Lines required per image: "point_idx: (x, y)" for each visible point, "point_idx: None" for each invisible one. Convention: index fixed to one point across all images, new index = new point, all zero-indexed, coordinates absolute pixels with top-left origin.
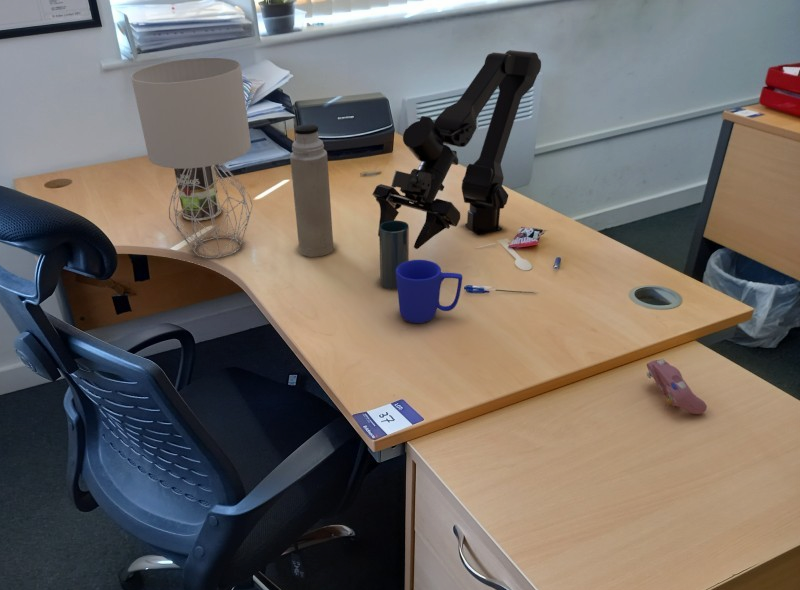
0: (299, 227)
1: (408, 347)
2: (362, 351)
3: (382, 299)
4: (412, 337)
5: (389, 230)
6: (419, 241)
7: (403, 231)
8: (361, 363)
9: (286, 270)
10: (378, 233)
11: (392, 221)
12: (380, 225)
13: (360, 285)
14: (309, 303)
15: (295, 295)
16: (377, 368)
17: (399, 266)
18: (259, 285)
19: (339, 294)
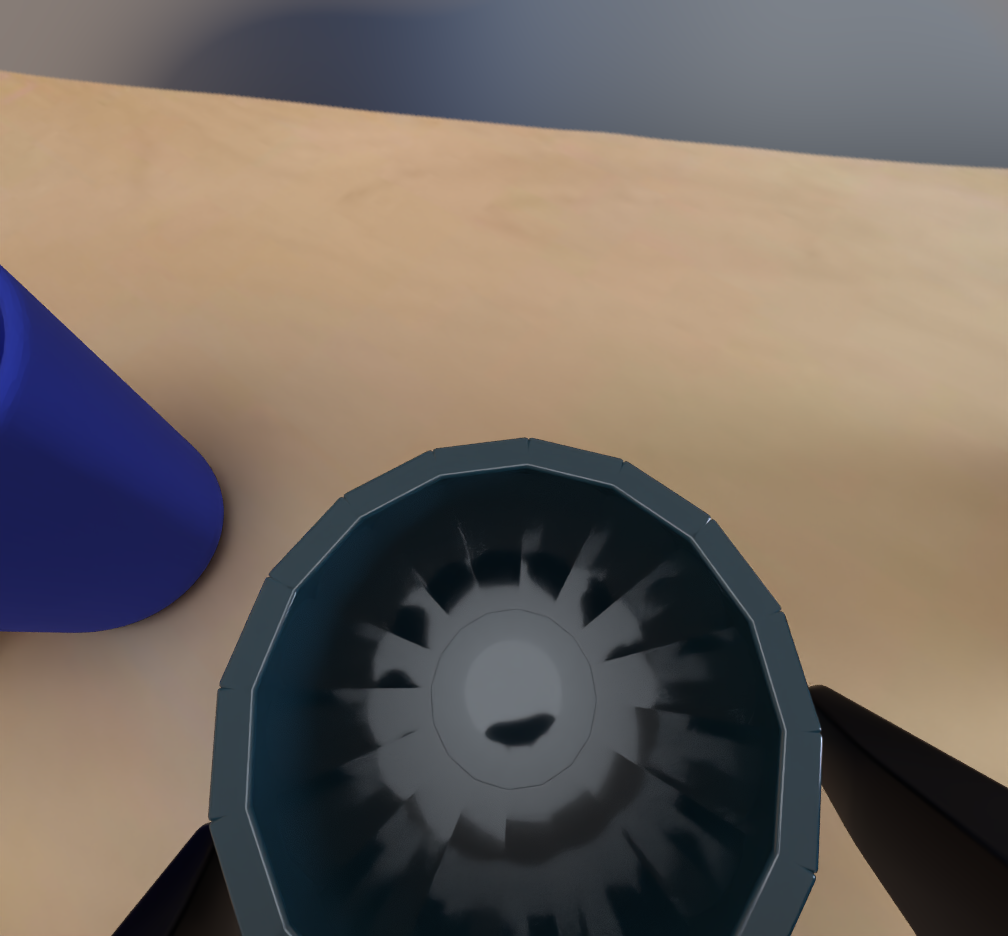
0: None
1: None
2: (172, 220)
3: None
4: None
5: (704, 773)
6: (126, 931)
7: (222, 712)
8: (126, 184)
9: (999, 326)
10: (838, 696)
11: (753, 883)
12: (709, 540)
13: None
14: (615, 252)
15: (719, 245)
16: (58, 203)
17: (4, 318)
18: (896, 187)
19: (602, 381)
